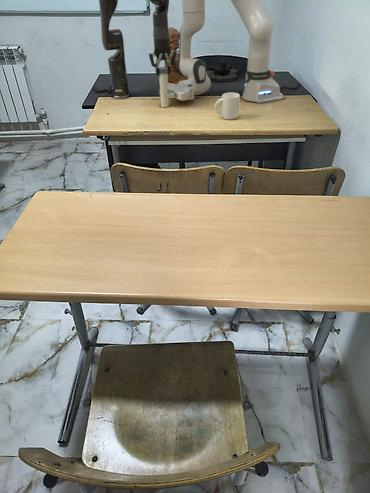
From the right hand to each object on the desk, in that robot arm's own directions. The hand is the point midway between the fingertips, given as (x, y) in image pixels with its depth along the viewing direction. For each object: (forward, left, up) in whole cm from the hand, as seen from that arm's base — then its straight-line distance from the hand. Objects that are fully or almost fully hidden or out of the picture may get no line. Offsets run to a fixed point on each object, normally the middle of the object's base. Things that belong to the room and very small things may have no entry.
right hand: (163, 94), depth 188 cm
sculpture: (-15, -41, -6) cm, 44 cm away
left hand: (-1, -1, +9) cm, 10 cm away
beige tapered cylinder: (-1, 0, -6) cm, 6 cm away
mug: (-28, +24, -6) cm, 37 cm away
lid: (-1, -1, +12) cm, 12 cm away
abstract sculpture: (-43, -44, -6) cm, 62 cm away
